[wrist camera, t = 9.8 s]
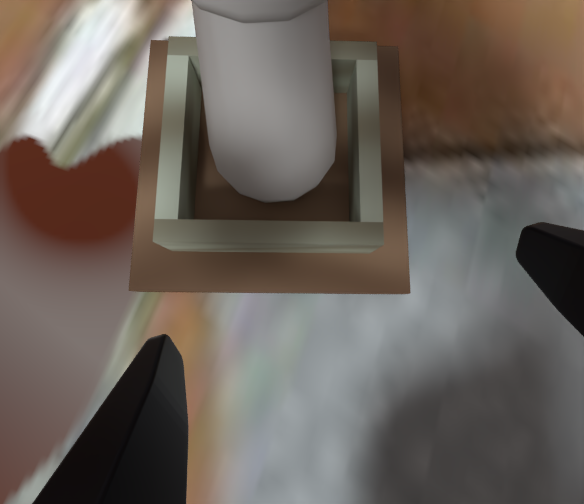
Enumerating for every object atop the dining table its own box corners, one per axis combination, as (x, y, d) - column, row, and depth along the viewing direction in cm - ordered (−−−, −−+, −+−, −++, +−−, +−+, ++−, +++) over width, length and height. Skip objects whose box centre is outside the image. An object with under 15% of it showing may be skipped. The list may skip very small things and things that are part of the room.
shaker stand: (402, 294, 18) (432, 291, 14) (139, 291, 17) (100, 287, 14) (391, 61, 20) (415, 7, 16) (158, 56, 20) (130, -1, 16)
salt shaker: (323, 109, 18) (419, -374, 5) (336, 209, 17) (490, -77, 4) (216, 117, 18) (41, -367, 5) (223, 220, 17) (31, -51, 4)
